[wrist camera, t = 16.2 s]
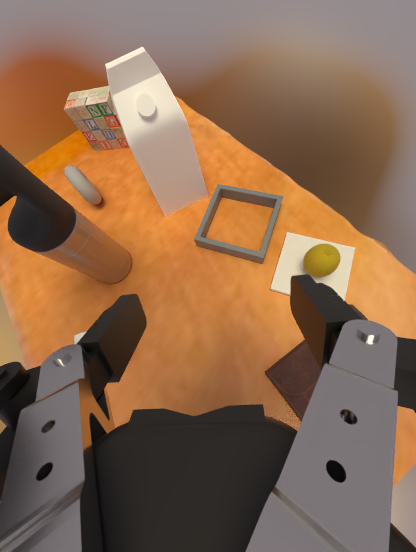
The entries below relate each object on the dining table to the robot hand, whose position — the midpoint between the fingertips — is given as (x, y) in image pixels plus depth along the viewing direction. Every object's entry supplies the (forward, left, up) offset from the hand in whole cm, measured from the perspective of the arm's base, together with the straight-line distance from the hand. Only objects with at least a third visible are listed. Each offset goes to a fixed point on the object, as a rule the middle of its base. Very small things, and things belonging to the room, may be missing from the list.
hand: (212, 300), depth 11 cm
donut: (-46, +21, -31) cm, 59 cm away
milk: (-24, +29, -31) cm, 49 cm away
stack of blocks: (-48, +43, -31) cm, 71 cm away
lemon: (+11, +17, -30) cm, 36 cm away
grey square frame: (-6, +23, -31) cm, 39 cm away
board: (+11, +17, -31) cm, 37 cm away
